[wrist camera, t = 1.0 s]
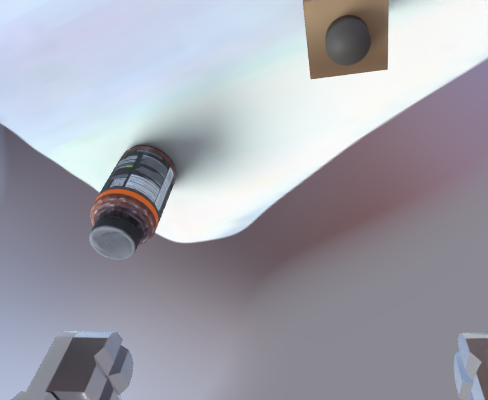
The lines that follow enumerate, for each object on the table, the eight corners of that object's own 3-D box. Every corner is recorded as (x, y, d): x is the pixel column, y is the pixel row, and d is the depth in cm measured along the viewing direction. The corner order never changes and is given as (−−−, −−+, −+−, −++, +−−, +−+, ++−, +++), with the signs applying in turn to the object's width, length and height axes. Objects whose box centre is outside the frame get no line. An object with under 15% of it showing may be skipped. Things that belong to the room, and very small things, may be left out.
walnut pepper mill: (305, -37, 31) (302, 8, 23) (369, -49, 31) (391, -7, 22) (311, 26, 34) (310, 87, 26) (370, 17, 33) (390, 77, 25)
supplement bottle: (153, 198, 48) (117, 277, 39) (110, 163, 45) (62, 238, 37) (189, 172, 45) (160, 251, 36) (146, 132, 42) (103, 206, 34)
